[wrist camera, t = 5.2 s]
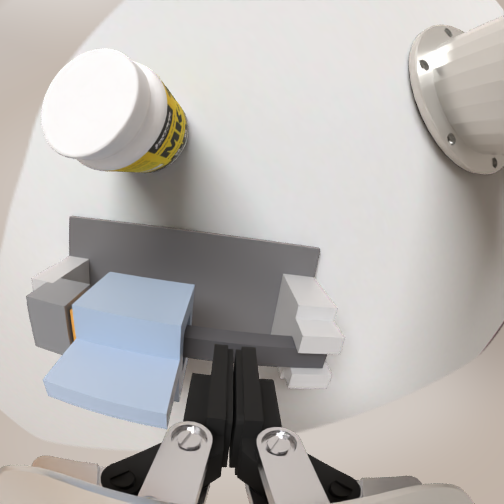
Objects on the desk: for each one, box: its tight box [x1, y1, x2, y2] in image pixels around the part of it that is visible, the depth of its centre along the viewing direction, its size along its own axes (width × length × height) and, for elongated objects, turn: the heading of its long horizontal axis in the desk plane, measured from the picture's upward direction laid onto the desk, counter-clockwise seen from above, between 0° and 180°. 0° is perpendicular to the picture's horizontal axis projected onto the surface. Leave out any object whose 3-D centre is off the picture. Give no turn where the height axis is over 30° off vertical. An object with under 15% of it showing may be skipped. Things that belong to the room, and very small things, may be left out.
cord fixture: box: [26, 216, 345, 389], centre depth 14 cm, size 16×8×7 cm, turn 81°
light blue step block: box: [43, 272, 195, 429], centre depth 11 cm, size 5×4×7 cm
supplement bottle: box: [41, 49, 188, 173], centre depth 11 cm, size 5×5×8 cm
